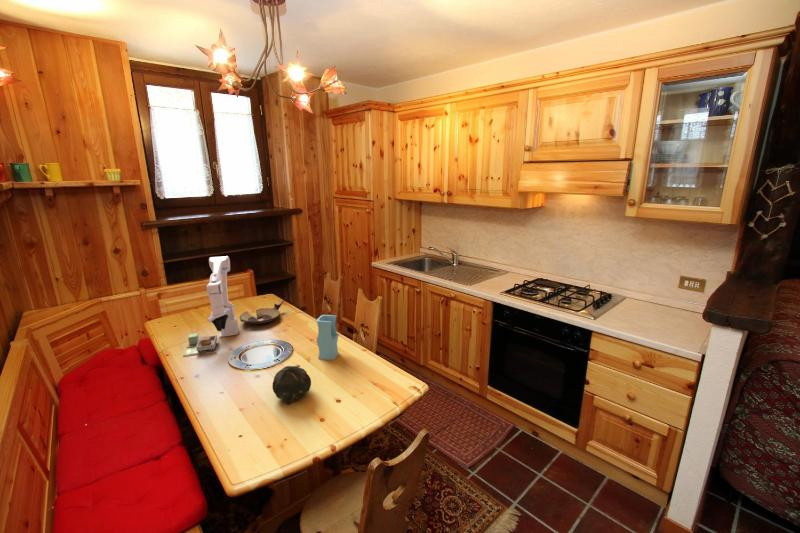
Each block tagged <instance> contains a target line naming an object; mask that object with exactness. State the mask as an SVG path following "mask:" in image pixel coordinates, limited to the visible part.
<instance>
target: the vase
mask: <svg viewBox="0 0 800 533" xmlns="http://www.w3.org/2000/svg"><path fill="white" fill-rule="evenodd" d="M336 320H337V315H334V314H333V315H332V314H322V315H320V316H319V317H318V318H317V319H316V325H317V328H318V329H317V330H318V334H317V338H316V344H317V346H318V350H319V351H318V360H326V361H334V360H335V359H336V358H337V356H338V355H339V350H338V341H339V340H338V339H339V333H338V332H337V327H336Z"/></svg>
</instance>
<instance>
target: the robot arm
mask: <svg viewBox="0 0 800 533" xmlns="http://www.w3.org/2000/svg"><path fill="white" fill-rule="evenodd" d="M208 264H209V268H210V269H211V270H210V271H211V272H212V273H211V274H210V276H209V281H208V284H206V293H207V295H208V299H209V301H210V302H209V303H210V308H211V313H210V316H208V318H207V319H206V322H207V323H212V325H214V327H215V329H216V331H217V332H220V333H219V338H222V337H229V336H237V335H238V334H239V330H240V328H239V321H238V317H236V311H235V310H236V309H235V305H234V304H233V303H232V302H230V300H229V296H228V295H229V294H228V292H229V291H228V290H229V289H228V280H227V279H228V278H227V277H228V272H231V260H230V257H229V256H228V255H226V256H210V257H209V258H208Z"/></svg>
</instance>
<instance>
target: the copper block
mask: <svg viewBox="0 0 800 533" xmlns="http://www.w3.org/2000/svg"><path fill="white" fill-rule="evenodd" d="M210 336H211V335H208V336H202V337H200V338H201V340H200V343H201V346H204V345H210V344H211V338H210Z"/></svg>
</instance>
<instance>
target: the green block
mask: <svg viewBox="0 0 800 533" xmlns="http://www.w3.org/2000/svg"><path fill="white" fill-rule="evenodd" d="M198 333H199V332H198ZM198 333H191V334H189V335H188V336H187V339H188V345H189V346H195V345H197V344H198V341H199V339H200V337H199V334H198Z"/></svg>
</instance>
